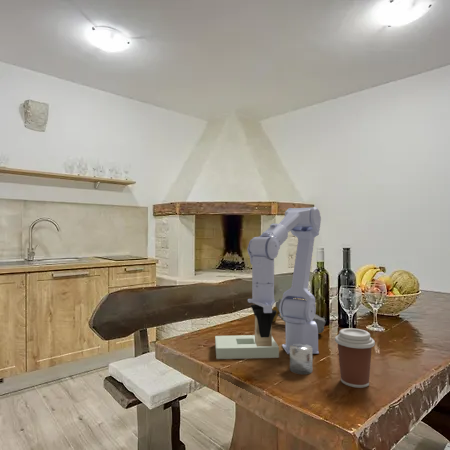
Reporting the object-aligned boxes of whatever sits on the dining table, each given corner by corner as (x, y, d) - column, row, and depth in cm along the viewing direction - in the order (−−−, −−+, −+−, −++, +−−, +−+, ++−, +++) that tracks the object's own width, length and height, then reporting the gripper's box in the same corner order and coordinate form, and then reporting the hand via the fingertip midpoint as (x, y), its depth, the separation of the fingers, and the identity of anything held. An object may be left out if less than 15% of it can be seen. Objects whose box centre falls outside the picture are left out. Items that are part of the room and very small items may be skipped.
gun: (309, 358, 125) (322, 322, 121) (265, 318, 144) (275, 286, 139) (315, 356, 127) (328, 320, 122) (271, 317, 146) (281, 285, 141)
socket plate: (271, 344, 114) (271, 334, 114) (278, 357, 102) (278, 347, 102) (215, 345, 113) (215, 335, 113) (216, 359, 101) (216, 348, 101)
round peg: (308, 365, 96) (308, 343, 96) (315, 374, 90) (315, 350, 90) (287, 366, 96) (287, 343, 96) (292, 374, 90) (292, 351, 90)
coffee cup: (353, 371, 92) (352, 325, 92) (383, 385, 84) (383, 334, 84) (327, 378, 87) (326, 330, 87) (356, 393, 79) (356, 340, 79)
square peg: (269, 341, 94) (268, 315, 95) (271, 346, 91) (271, 318, 91) (254, 341, 94) (254, 315, 94) (257, 346, 90) (256, 319, 91)
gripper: (244, 278, 100) (244, 327, 99) (251, 287, 85) (251, 343, 85) (269, 278, 100) (269, 326, 100) (280, 286, 86) (280, 343, 85)
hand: (263, 334), depth 92 cm, fingers closed on square peg, 4 cm apart
